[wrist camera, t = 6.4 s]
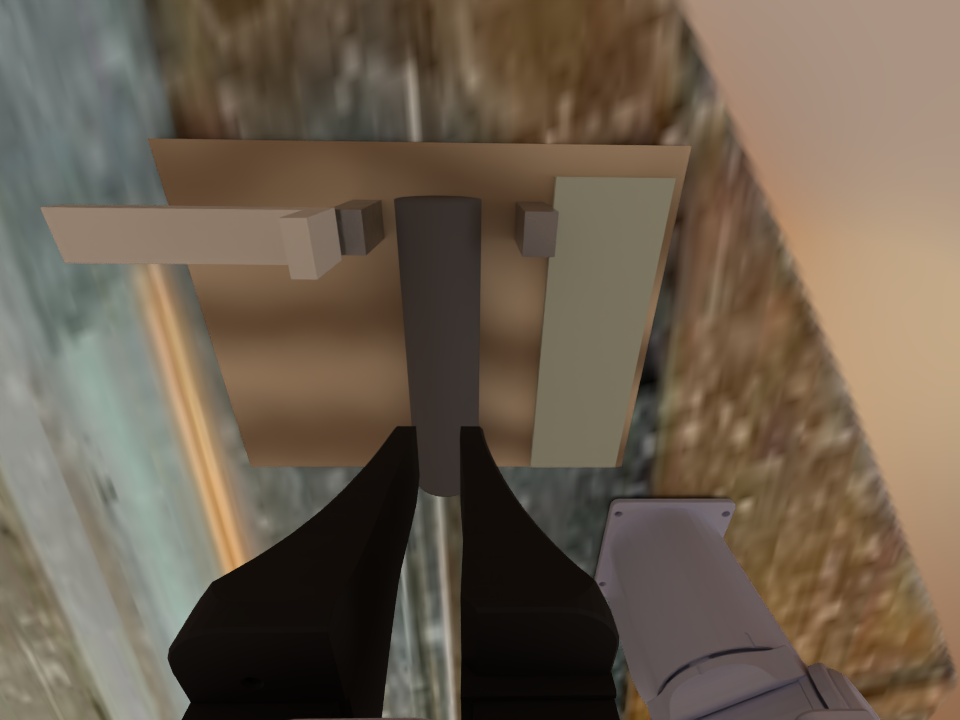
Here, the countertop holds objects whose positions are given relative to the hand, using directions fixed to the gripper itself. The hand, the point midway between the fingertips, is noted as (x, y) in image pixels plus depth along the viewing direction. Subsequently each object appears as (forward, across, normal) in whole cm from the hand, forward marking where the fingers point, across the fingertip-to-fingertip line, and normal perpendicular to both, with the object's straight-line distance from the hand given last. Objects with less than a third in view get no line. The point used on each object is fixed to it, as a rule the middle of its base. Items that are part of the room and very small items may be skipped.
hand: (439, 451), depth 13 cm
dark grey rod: (+8, 0, 0) cm, 8 cm away
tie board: (+9, +1, 0) cm, 9 cm away
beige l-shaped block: (+4, +8, -6) cm, 11 cm away
